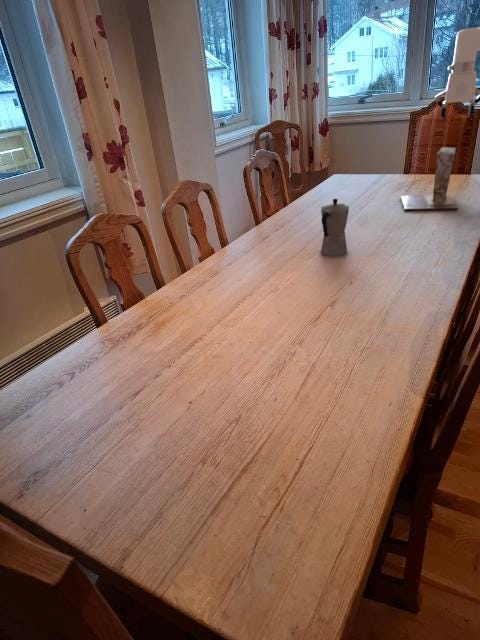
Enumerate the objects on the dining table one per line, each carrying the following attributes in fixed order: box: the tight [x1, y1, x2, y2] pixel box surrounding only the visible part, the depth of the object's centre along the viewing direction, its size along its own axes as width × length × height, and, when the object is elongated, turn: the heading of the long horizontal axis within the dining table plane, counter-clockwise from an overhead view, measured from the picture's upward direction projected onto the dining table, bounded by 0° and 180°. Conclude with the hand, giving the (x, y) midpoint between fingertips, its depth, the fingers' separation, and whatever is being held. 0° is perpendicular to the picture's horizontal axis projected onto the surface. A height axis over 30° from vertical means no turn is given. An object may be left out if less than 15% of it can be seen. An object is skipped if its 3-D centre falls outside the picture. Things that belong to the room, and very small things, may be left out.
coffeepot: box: [320, 198, 350, 257], centre depth 141 cm, size 15×9×18 cm, turn 145°
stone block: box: [432, 146, 457, 203], centre depth 178 cm, size 13×7×20 cm, turn 159°
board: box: [400, 193, 459, 212], centre depth 182 cm, size 20×20×1 cm
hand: (456, 117), depth 169 cm, fingers open, 9 cm apart
